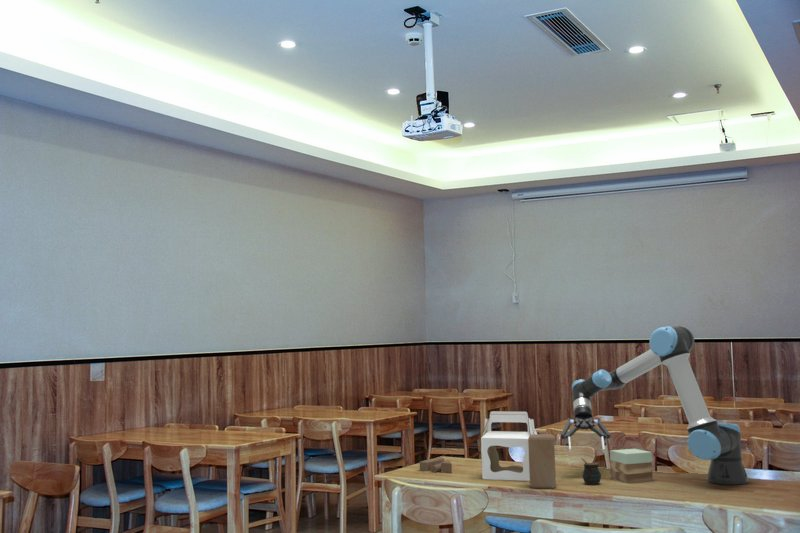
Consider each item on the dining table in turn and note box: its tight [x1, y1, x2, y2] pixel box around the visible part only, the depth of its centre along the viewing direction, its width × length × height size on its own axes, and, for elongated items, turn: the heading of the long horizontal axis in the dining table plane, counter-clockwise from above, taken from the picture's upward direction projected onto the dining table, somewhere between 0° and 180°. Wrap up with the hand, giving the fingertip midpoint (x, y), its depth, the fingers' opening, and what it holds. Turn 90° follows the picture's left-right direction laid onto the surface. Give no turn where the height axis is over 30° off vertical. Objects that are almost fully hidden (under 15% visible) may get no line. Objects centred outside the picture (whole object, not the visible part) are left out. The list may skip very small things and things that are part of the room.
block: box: [528, 433, 557, 489], centre depth 328 cm, size 10×10×20 cm
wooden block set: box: [419, 456, 453, 474], centre depth 376 cm, size 17×6×18 cm
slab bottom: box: [609, 470, 654, 484], centre depth 337 cm, size 12×12×4 cm
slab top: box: [609, 448, 653, 464], centre depth 338 cm, size 12×12×4 cm
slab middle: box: [609, 459, 654, 474], centre depth 337 cm, size 12×12×4 cm
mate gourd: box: [581, 457, 602, 486], centre depth 331 cm, size 7×8×10 cm
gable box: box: [480, 410, 538, 482], centre depth 351 cm, size 22×13×28 cm, turn 68°
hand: (586, 451), depth 339 cm, fingers open, 13 cm apart
